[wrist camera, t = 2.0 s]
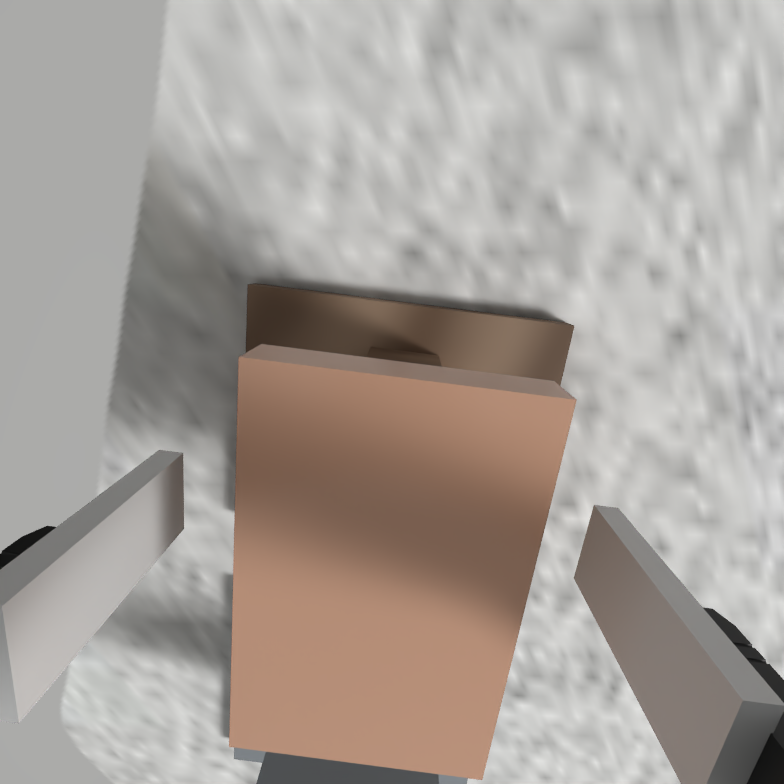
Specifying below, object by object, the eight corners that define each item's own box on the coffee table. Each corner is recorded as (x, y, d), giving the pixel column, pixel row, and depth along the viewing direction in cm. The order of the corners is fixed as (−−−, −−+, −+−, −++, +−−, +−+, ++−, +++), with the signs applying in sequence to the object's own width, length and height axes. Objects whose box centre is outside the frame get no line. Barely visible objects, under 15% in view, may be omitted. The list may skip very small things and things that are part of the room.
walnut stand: (566, 322, 20) (708, 379, 11) (513, 551, 24) (584, 752, 14) (255, 283, 20) (115, 304, 11) (247, 517, 24) (135, 694, 14)
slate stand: (499, 614, 25) (555, 839, 15) (463, 771, 28) (490, 1036, 18) (245, 581, 25) (140, 785, 15) (240, 741, 28) (151, 991, 19)
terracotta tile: (554, 381, 11) (576, 399, 9) (474, 725, 14) (482, 780, 12) (261, 344, 11) (238, 357, 9) (247, 696, 14) (229, 747, 12)
